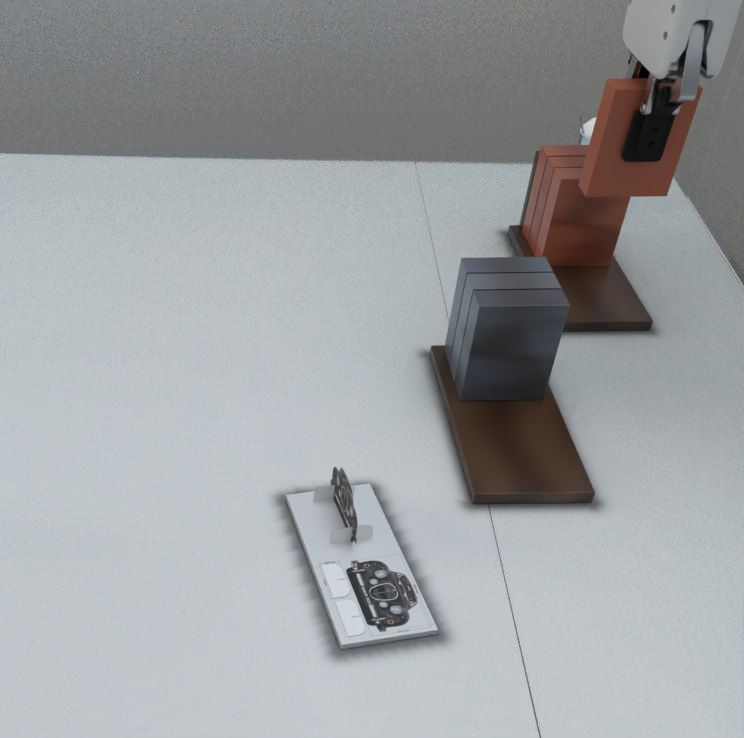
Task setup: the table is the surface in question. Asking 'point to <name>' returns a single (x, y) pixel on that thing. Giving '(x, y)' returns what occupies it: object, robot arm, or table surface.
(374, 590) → the car cutout
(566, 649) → the table surface
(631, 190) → the terracotta book
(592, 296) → the terracotta shelf
